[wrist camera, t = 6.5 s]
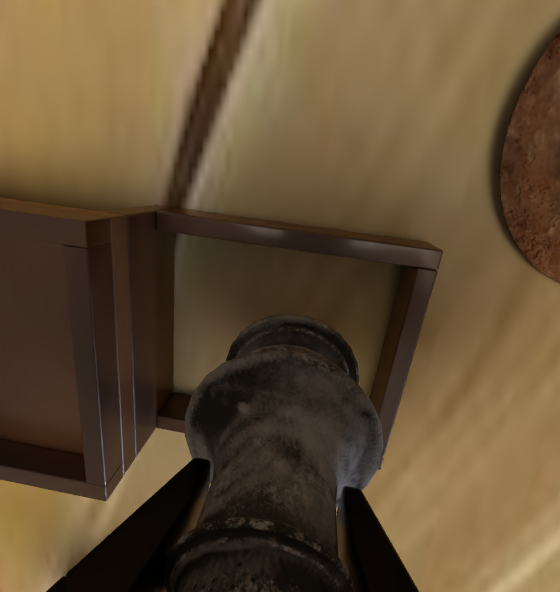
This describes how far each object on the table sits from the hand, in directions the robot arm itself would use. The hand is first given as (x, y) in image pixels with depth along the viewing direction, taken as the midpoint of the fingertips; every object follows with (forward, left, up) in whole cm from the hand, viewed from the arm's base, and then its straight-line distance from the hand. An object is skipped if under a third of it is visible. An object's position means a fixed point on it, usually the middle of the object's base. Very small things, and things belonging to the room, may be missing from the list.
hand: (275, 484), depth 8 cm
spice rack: (-5, +4, -9) cm, 11 cm away
